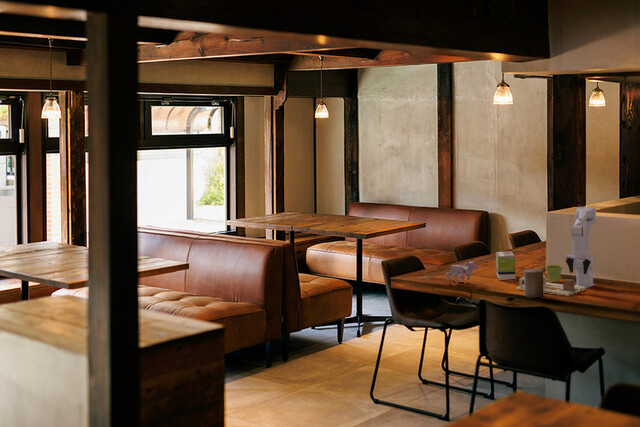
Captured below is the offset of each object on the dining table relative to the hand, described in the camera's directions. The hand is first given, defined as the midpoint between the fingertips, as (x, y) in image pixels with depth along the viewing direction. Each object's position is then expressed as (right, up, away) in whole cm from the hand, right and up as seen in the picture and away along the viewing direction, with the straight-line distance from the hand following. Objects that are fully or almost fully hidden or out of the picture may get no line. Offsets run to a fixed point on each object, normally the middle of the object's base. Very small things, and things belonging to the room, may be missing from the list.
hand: (578, 273), depth 423 cm
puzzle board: (-12, -10, +8) cm, 18 cm away
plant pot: (-4, -7, +29) cm, 30 cm away
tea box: (-28, -7, +45) cm, 53 cm away
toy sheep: (-55, -9, +32) cm, 64 cm away
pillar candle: (-25, -12, -5) cm, 28 cm away
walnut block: (-5, -8, -1) cm, 10 cm away
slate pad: (-5, -9, -1) cm, 10 cm away
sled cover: (-21, -8, +13) cm, 26 cm away
